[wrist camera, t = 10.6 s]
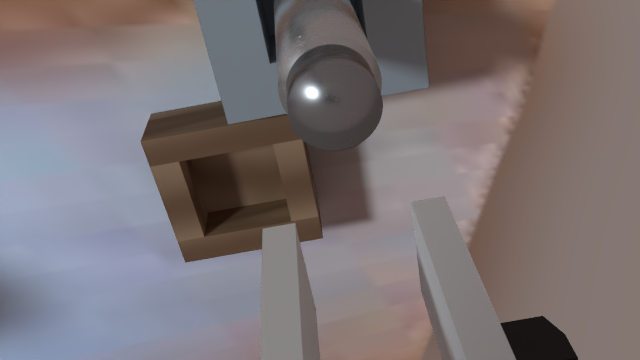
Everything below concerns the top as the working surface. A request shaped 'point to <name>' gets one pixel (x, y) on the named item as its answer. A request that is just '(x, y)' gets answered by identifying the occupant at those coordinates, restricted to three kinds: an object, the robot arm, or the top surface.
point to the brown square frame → (230, 179)
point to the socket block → (260, 50)
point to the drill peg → (326, 73)
